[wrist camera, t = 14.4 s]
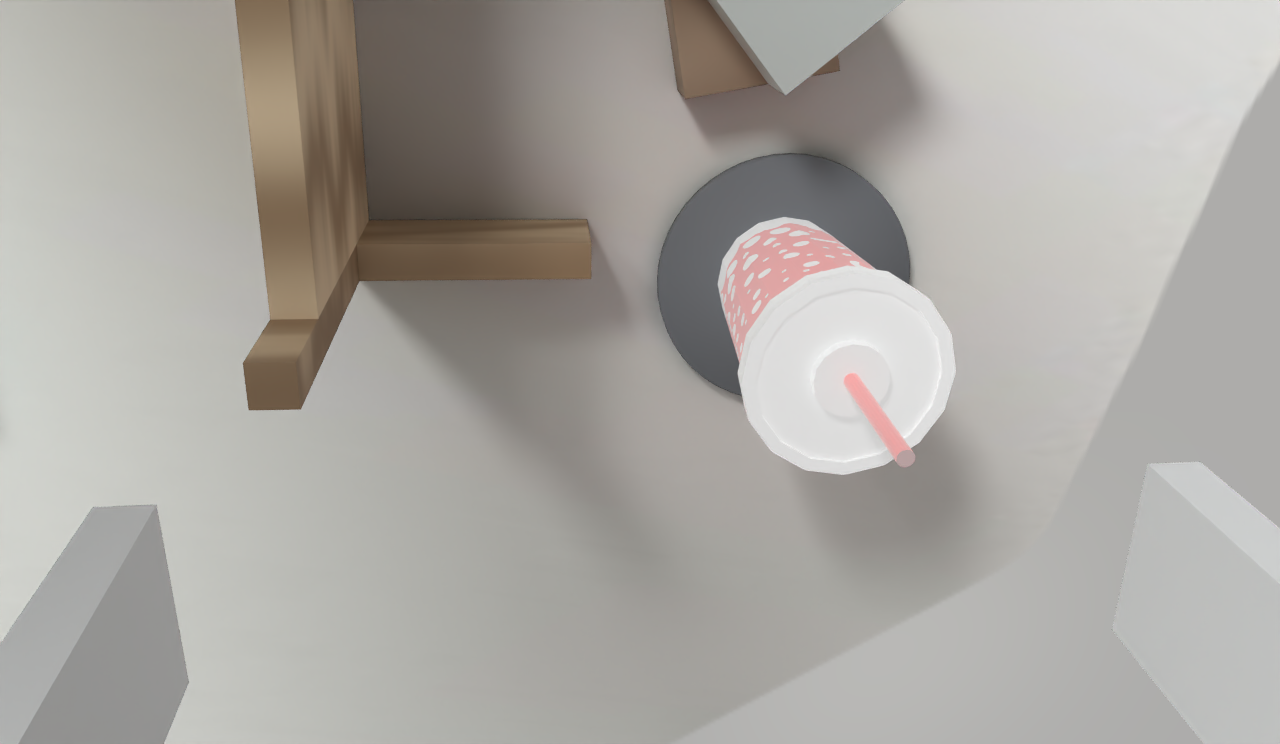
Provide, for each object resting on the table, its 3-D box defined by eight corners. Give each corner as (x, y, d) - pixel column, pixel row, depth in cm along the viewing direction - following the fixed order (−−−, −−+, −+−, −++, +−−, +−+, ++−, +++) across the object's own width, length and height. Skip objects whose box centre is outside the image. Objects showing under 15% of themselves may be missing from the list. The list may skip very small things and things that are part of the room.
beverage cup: (889, 318, 41) (1059, 508, 28) (734, 387, 41) (830, 605, 28) (833, 166, 38) (989, 295, 25) (668, 240, 39) (740, 405, 26)
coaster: (660, 152, 38) (662, 156, 38) (918, 153, 39) (923, 157, 38) (653, 395, 42) (655, 402, 41) (890, 391, 42) (895, 398, 42)
